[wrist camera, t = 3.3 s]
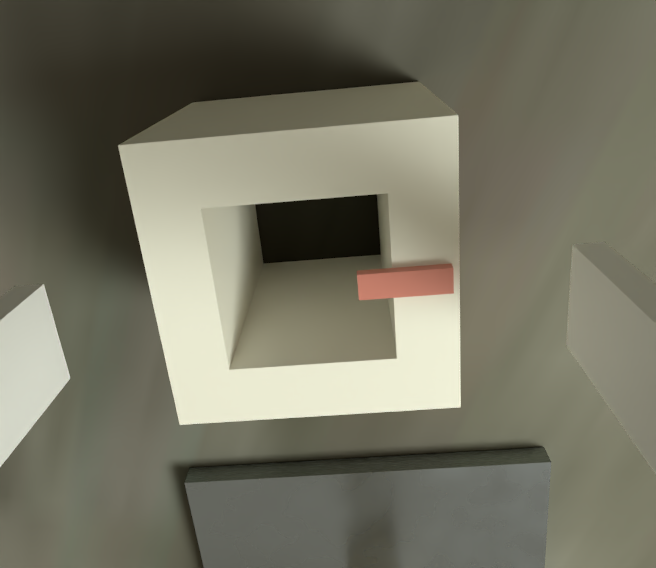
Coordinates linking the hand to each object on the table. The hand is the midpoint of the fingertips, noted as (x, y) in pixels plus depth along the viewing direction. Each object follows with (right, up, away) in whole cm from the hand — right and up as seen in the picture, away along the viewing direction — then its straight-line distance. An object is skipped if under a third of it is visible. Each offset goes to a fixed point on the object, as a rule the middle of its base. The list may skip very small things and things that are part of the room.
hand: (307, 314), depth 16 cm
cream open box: (0, +4, +8) cm, 9 cm away
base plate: (+3, -14, +16) cm, 21 cm away
